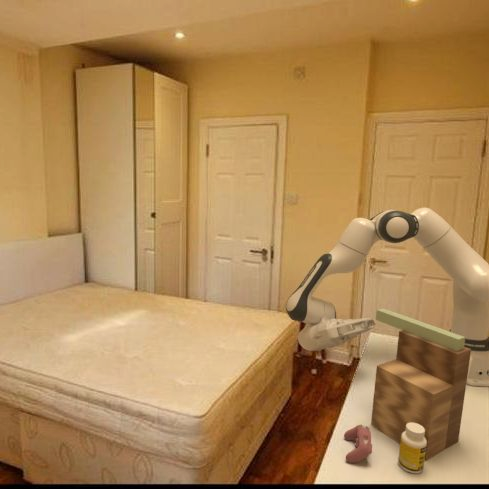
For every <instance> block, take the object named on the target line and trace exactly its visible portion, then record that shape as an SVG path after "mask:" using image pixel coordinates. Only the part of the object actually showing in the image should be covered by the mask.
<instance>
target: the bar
mask: <svg viewBox="0 0 489 489" xmlns="http://www.w3.org/2000/svg"><path fill="white" fill-rule="evenodd" d="M375 321H378V322H380V323H383V324H385V325H388V326H390V327H393V328H396V329H399V330H400V331H402V330H403V331H406V332H409V333H411V334H414V335H416V336H419V337H421V338H424V339H427V340H429V341H432V342H434V343H437V344H439V345H442V346H445V347H447V348H450V349H452V350H455V351H459V350H462V349H464V343H465V337H463V336H461V335H458V334H455V333H452V332H449V331H450V330H446V329H443V328H440V327H438V326H435V325H432V324H429V323H425V322H423V321H420V320H418V319H415V318H412V317H409V316H407V315H404V314H401V313H398V312H395V311H392V310H389V309H386V308H379V309H378V308H377V309H376V312H375Z"/></svg>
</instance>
